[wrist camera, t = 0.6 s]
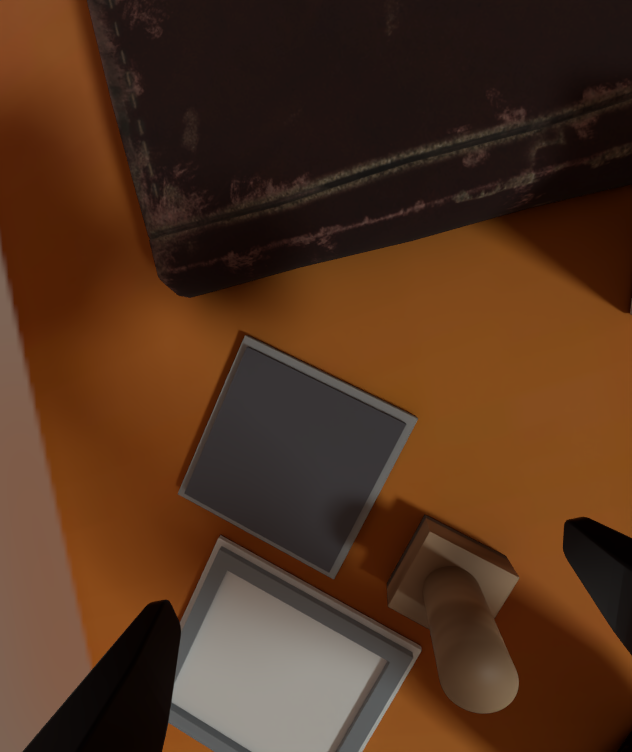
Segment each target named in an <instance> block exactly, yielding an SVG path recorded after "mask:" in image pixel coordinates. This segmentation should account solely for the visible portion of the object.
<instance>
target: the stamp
mask: <svg viewBox="0 0 632 752" xmlns="http://www.w3.org/2000/svg"><path fill="white" fill-rule="evenodd" d="M518 580H519V576H518V575H517V573H516V571H515V570H514V568H513V567H512V565H511V563H510V562H509V560H508V559H507V557H506V556H505V555H503V554H501V553H499V552H497V551H495V550H493V549H491V548H489V547H487V546H485V545H483V544H481V543H479V542H477V541H476V540H474V539H472V538H470V537H468V536H466V535H464V534H462V533H460V532H458V531H456V530H454V529H452V528H450V527H448V526H446V525H444V524H442V523H440V522H438V521H436V520H435V519H433V518H431V517H429V516H427V515H424V517H423V519H422V521H421V522H420V524H419V526H418V528H417V530H416V531H415V533H414V535H413V537H412V539H411V541H410V542H409V544H408V546H407V548H406V550H405V551H404V553H403V555H402V557H401V559H400V560H399V562H398V564H397V566H396V568H395V569H394V571H393V573H392V575H391V577H390V579H389V580H388V582H387V599H388V607H389V608H391V609H393V610H395V611H397V612H398V613H400V614H402V615H404V616H406V617H408V618H409V619H411V620H413V621H415V622H417V623H419V624H420V625H422V626H424V627H426V628H428V629H430V634H431V639H432V644H433V649H434V654H435V659H436V664H437V670H438V675H439V680H440V684H441V686H442V689H443V691H444V692H445V694H446V695H447V697H448V698H449V699H450V700H451V701H452V702H453V703H455V704H456V705H457V706H459V707H461V708H463V709H465V710H467V711H470V712H474V713H493V712H497V711H499V710H501V709H503V708H505V707H506V706H508V705H509V704H510V703H511V702H512V701H513V699H514V698H515V696H516V694H517V691H518V687H519V679H518V674H517V671H516V669H515V666H514V664H513V662H512V659H511V657H510V655H509V652H508V650H507V648H506V646H505V643H504V641H503V639H502V636H501V634H500V632H499V630H498V627H497V625H496V623H495V620H494V618H495V617H496V615H497V613H498V612H499V610H500V609H501V607H502V605H503V604H504V602H505V601H506V599H507V597H508V596H509V594H510V592H511V591H512V589H513V588H514V586H515V584H516V583H517V581H518Z"/></svg>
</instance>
